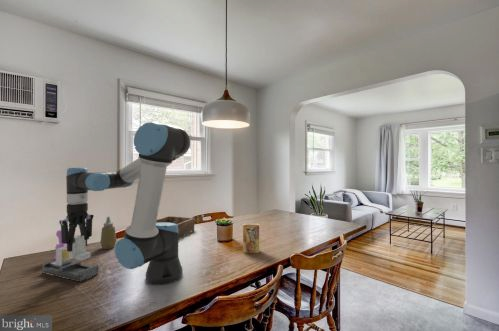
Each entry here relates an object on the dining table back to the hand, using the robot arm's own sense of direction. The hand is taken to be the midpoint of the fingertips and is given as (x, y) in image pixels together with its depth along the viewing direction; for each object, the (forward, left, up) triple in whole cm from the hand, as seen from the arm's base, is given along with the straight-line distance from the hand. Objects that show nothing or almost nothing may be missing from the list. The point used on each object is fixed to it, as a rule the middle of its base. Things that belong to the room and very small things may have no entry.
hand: (77, 256), depth 105 cm
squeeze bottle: (+18, -30, -9) cm, 36 cm away
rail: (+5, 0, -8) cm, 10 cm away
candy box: (-62, -52, -9) cm, 82 cm away
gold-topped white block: (-2, 0, 0) cm, 2 cm away
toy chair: (+26, -12, -9) cm, 29 cm away
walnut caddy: (+2, -62, -8) cm, 63 cm away
